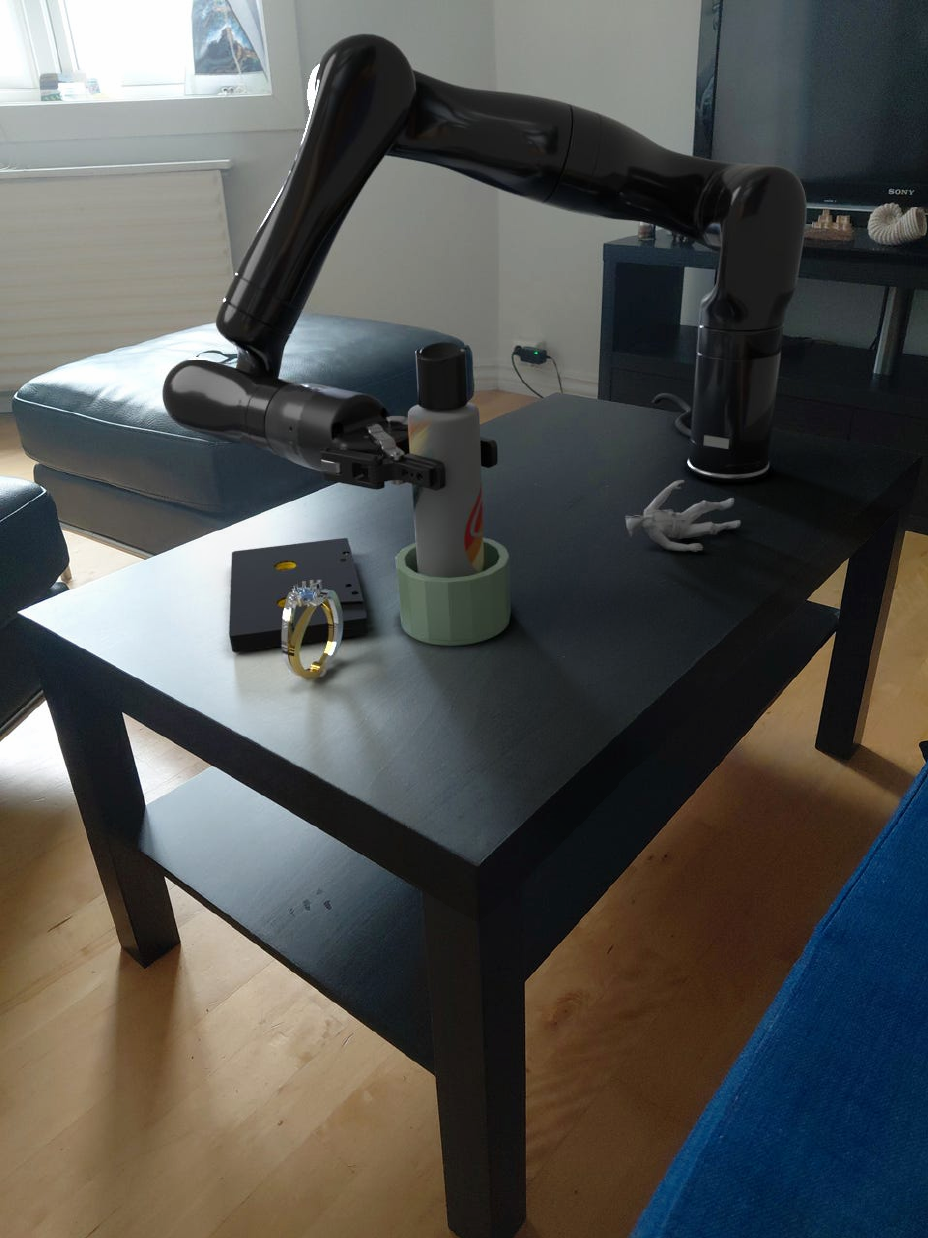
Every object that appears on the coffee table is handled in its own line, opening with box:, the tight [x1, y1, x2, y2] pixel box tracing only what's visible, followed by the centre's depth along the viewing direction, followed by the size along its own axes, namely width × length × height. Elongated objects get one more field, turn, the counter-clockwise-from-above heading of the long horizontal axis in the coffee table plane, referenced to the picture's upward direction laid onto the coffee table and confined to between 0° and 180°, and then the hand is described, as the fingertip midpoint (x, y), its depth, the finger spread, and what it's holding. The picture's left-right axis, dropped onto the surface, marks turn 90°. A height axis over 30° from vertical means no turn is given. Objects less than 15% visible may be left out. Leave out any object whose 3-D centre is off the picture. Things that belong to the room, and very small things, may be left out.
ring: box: [281, 580, 343, 680], centre depth 74 cm, size 7×3×8 cm, turn 151°
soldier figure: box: [624, 479, 742, 553], centre depth 95 cm, size 8×5×12 cm
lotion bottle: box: [407, 341, 484, 578], centre depth 77 cm, size 6×6×20 cm
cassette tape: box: [228, 537, 369, 653], centre depth 87 cm, size 18×12×2 cm, turn 12°
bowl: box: [394, 537, 512, 647], centre depth 82 cm, size 10×10×6 cm
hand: (468, 465), depth 75 cm, fingers closed on lotion bottle, 5 cm apart
